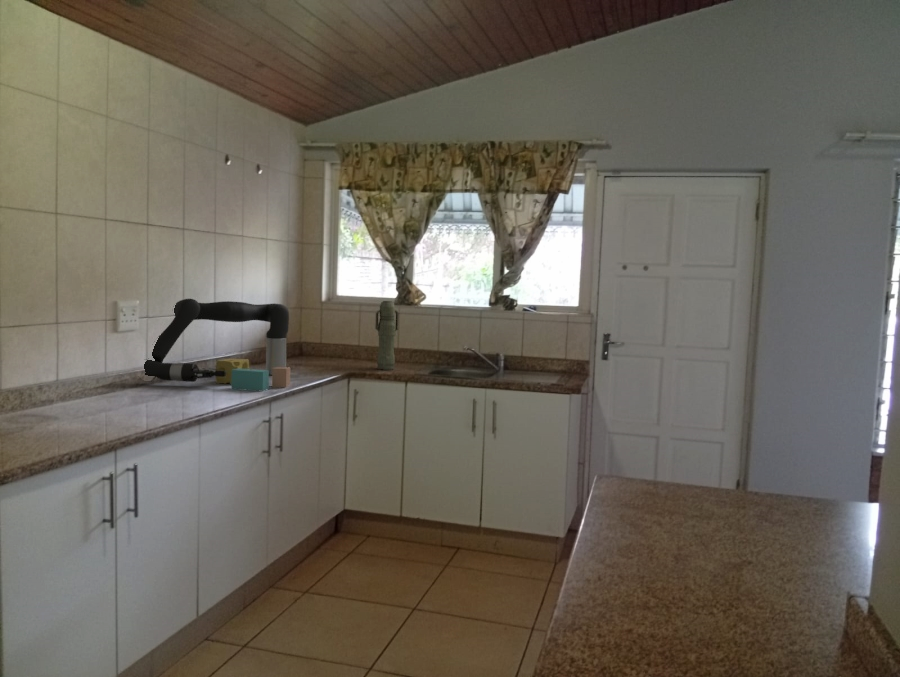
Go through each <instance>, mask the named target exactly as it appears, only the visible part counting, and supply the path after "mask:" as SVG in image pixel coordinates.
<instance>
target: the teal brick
mask: <svg viewBox="0 0 900 677" xmlns="http://www.w3.org/2000/svg"><path fill="white" fill-rule="evenodd" d="M269 376H270V375H269V370H266V369H253V368H252V369H250V368H249V369H239V368H237V369H233V370H232V379H231V384H230V386H231V388H236V389H235V390H239V389H246V390H245V391H252V390H262V391H261V392H264V391H263V390H265V391H267V390H266V389H270V388H269V386H270V385H269V384H270V383H269V380H270V378H269Z"/></svg>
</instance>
